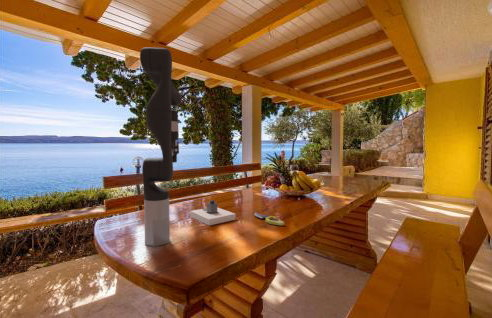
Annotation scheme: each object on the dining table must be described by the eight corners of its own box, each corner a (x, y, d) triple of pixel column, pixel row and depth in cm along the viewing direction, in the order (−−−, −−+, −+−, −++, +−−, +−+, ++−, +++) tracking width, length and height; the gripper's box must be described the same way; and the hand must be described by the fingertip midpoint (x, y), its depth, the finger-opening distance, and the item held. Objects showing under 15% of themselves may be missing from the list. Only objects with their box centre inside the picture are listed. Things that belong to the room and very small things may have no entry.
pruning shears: (247, 215, 132) (276, 228, 111) (247, 211, 132) (276, 222, 111) (259, 213, 136) (288, 225, 115) (259, 209, 136) (288, 220, 115)
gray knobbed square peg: (217, 218, 126) (217, 200, 126) (210, 219, 124) (210, 201, 124) (213, 216, 130) (213, 199, 129) (207, 217, 127) (207, 200, 127)
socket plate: (235, 219, 124) (235, 212, 124) (208, 225, 114) (208, 218, 114) (215, 211, 139) (215, 205, 139) (190, 216, 129) (190, 209, 129)
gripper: (159, 131, 125) (159, 161, 126) (168, 129, 114) (169, 162, 115) (172, 131, 130) (173, 161, 131) (183, 130, 119) (183, 162, 120)
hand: (171, 162), depth 123 cm, fingers open, 8 cm apart
